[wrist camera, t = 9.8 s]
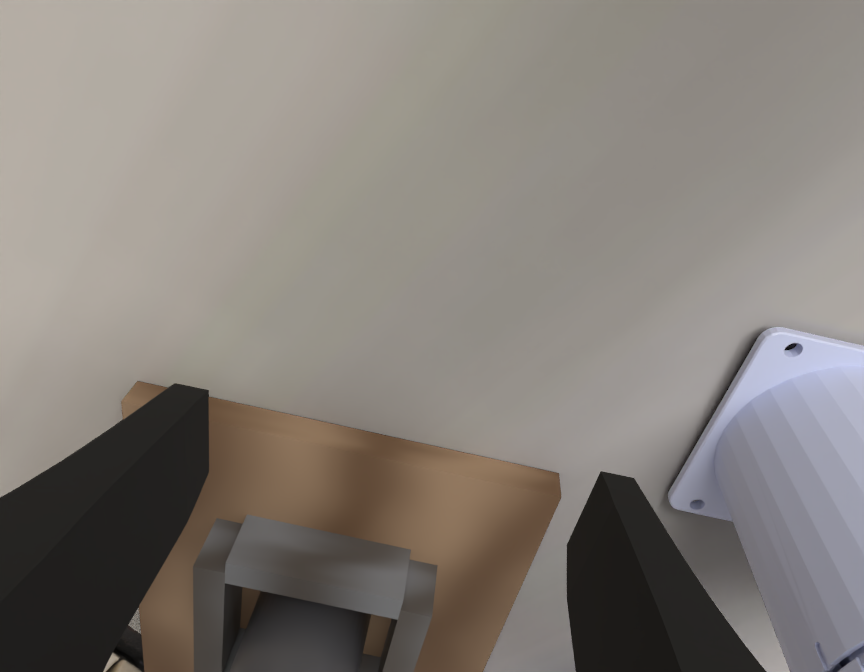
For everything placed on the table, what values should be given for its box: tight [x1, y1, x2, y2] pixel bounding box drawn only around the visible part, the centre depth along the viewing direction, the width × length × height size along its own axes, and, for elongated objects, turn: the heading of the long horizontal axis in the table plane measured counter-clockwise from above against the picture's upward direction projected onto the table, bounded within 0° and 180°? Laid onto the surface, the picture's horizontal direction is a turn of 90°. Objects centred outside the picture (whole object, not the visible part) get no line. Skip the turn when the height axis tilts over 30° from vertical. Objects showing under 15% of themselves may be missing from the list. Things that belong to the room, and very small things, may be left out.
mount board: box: [121, 381, 561, 672], centre depth 27 cm, size 16×18×4 cm
